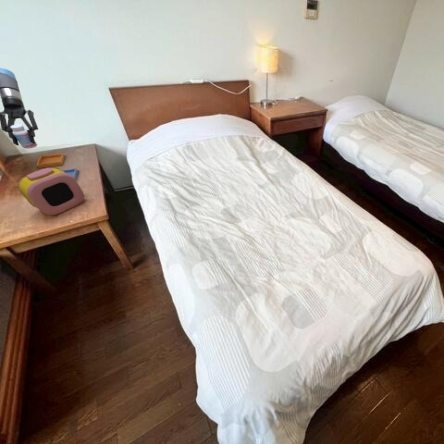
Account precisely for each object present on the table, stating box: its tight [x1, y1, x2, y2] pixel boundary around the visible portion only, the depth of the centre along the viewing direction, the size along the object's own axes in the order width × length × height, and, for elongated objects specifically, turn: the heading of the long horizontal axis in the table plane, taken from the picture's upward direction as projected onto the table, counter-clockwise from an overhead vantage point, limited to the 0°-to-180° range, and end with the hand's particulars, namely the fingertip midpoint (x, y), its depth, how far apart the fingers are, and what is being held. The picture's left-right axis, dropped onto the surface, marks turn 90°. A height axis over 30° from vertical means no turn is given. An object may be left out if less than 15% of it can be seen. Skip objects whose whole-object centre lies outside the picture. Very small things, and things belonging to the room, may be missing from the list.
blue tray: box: [62, 167, 79, 181], centre depth 139 cm, size 11×11×2 cm
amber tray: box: [35, 152, 66, 169], centre depth 150 cm, size 11×11×2 cm
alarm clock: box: [17, 167, 85, 216], centre depth 117 cm, size 18×11×19 cm, turn 151°
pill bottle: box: [11, 123, 38, 150], centre depth 130 cm, size 6×6×11 cm
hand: (24, 143), depth 129 cm, fingers closed on pill bottle, 6 cm apart
